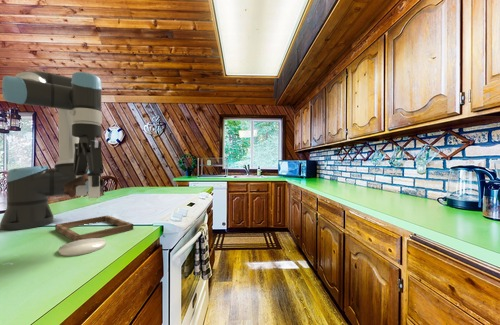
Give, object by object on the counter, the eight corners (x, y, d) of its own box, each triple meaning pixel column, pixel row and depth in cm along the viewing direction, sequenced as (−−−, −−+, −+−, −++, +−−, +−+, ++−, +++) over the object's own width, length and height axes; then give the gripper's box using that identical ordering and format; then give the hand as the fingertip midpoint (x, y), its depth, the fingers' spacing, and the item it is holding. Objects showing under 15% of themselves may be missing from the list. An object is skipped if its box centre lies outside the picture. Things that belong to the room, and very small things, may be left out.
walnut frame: (55, 229, 83) (55, 224, 83) (107, 220, 97) (107, 215, 97) (76, 243, 70) (76, 236, 70) (133, 229, 84) (133, 224, 84)
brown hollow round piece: (93, 201, 65) (75, 177, 63) (68, 215, 66) (50, 192, 65) (118, 186, 76) (103, 166, 75) (96, 198, 78) (81, 178, 76)
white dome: (53, 249, 65) (53, 246, 65) (97, 238, 73) (97, 235, 73) (65, 259, 58) (65, 255, 58) (112, 246, 67) (112, 243, 67)
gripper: (60, 126, 73) (60, 195, 73) (87, 117, 61) (87, 201, 60) (87, 129, 79) (87, 193, 79) (116, 122, 67) (117, 197, 66)
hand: (87, 196), depth 70 cm, fingers closed on brown hollow round piece, 9 cm apart
